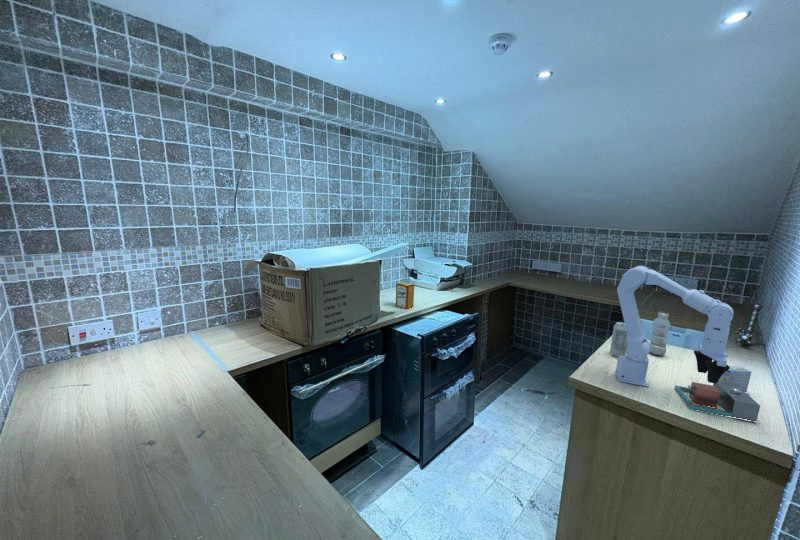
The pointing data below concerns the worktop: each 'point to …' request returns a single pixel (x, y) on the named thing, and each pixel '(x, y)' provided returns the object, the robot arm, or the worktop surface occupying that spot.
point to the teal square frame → (727, 401)
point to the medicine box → (737, 377)
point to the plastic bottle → (660, 334)
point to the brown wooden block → (704, 394)
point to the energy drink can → (619, 340)
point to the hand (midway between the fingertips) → (706, 377)
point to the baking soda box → (404, 295)
